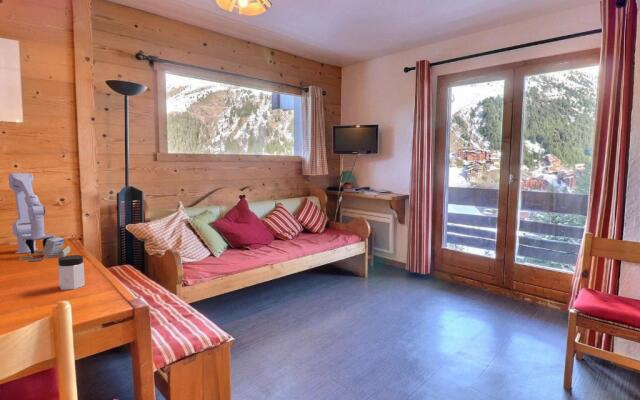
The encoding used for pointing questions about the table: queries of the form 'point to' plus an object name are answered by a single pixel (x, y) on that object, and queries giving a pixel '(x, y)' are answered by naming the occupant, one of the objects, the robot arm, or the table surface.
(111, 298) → the table surface
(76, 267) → the jar
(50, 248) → the medicine box
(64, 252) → the channel
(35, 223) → the robot arm
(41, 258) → the grey plate
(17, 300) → the table surface
